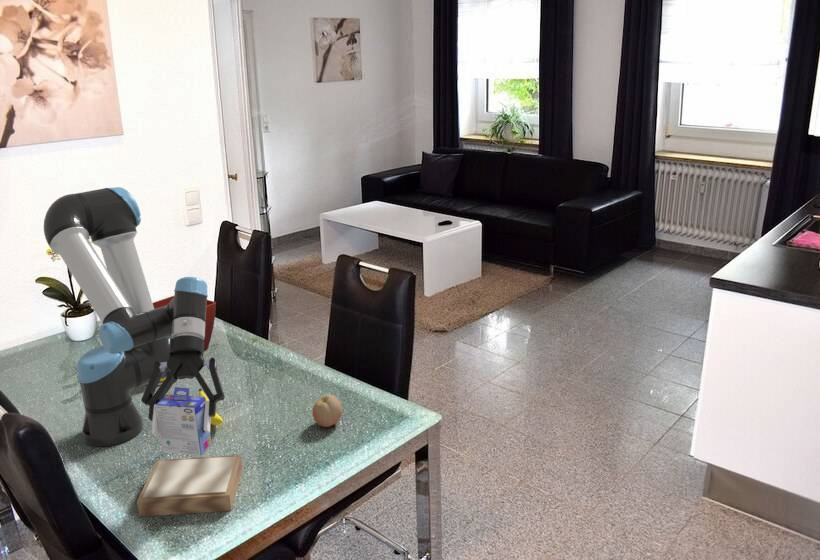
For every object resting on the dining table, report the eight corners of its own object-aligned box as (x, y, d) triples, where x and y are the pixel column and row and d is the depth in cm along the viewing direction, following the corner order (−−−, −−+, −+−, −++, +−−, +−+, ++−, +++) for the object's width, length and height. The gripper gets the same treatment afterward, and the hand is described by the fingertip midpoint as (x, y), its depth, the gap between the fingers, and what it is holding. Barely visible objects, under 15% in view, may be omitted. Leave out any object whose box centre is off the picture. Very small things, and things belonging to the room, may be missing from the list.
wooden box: (139, 516, 153) (136, 500, 152) (159, 474, 168) (156, 459, 167) (231, 510, 154) (229, 494, 153) (242, 469, 169) (240, 453, 168)
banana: (218, 438, 183) (215, 417, 181) (197, 409, 198) (194, 389, 196) (228, 435, 184) (226, 414, 182) (207, 406, 200) (204, 387, 198)
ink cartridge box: (213, 443, 159) (205, 386, 154) (202, 456, 154) (193, 398, 149) (174, 440, 161) (164, 384, 156) (161, 453, 156) (151, 395, 151)
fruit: (310, 420, 190) (307, 394, 188) (337, 414, 193) (336, 388, 191) (318, 434, 183) (315, 407, 181) (347, 427, 186) (345, 401, 184)
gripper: (132, 336, 159) (121, 432, 149) (234, 330, 160) (230, 424, 150) (142, 348, 165) (133, 440, 156) (240, 342, 167) (237, 433, 157)
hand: (180, 433), depth 153 cm, fingers closed on ink cartridge box, 11 cm apart
